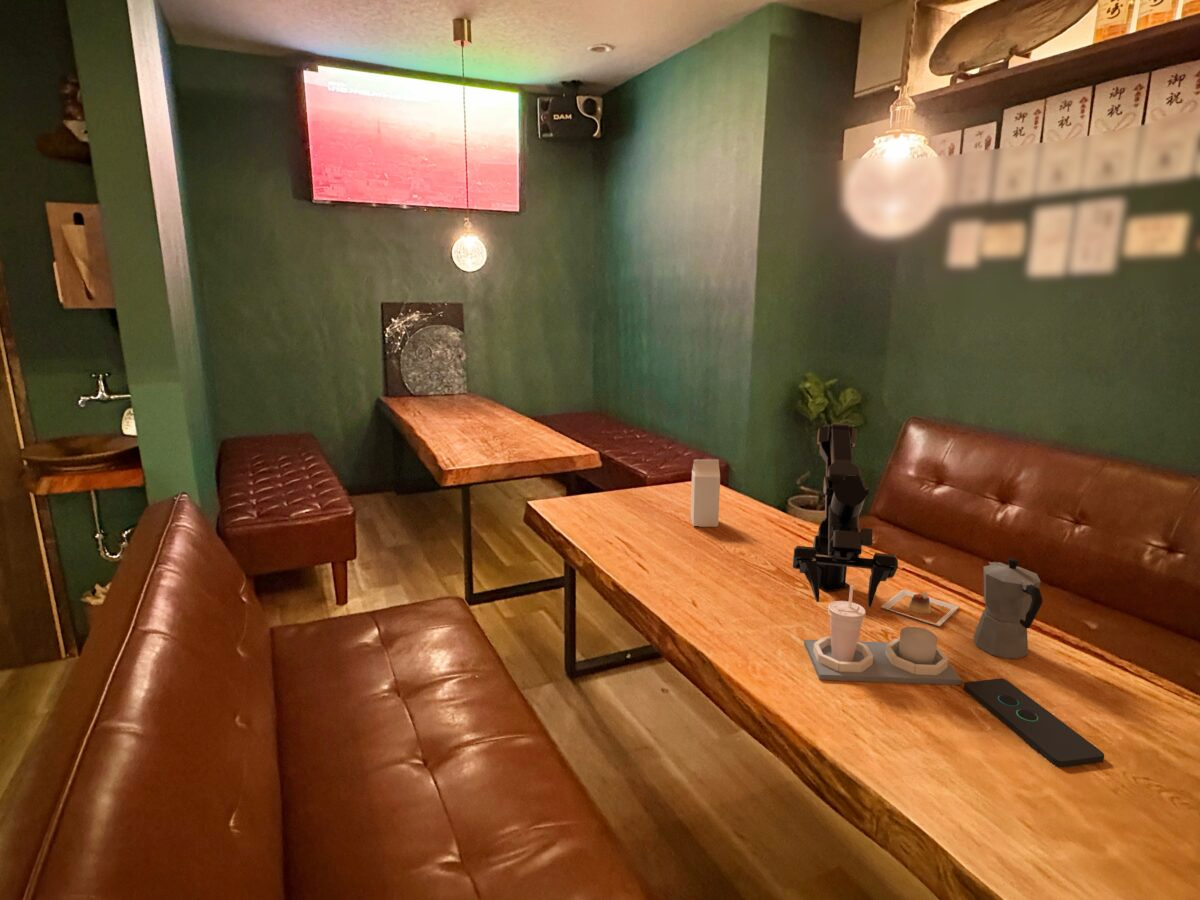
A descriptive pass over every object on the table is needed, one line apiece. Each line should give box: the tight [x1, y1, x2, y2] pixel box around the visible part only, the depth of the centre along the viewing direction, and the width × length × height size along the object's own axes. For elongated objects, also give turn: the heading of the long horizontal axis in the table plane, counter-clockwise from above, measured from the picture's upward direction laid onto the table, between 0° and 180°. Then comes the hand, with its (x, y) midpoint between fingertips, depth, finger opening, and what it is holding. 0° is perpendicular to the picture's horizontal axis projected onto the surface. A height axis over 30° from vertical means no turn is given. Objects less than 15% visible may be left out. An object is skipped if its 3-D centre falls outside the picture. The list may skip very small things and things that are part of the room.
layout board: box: [803, 626, 963, 686], centre depth 122 cm, size 24×12×6 cm, turn 86°
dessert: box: [880, 589, 960, 627], centre depth 143 cm, size 12×12×5 cm
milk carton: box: [690, 459, 721, 528], centre depth 193 cm, size 7×7×19 cm
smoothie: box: [827, 584, 867, 662], centre depth 121 cm, size 6×6×14 cm
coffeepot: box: [973, 557, 1043, 660], centre depth 125 cm, size 15×9×18 cm, turn 179°
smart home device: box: [963, 677, 1105, 769], centre depth 106 cm, size 8×2×20 cm
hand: (843, 604), depth 126 cm, fingers open, 9 cm apart
